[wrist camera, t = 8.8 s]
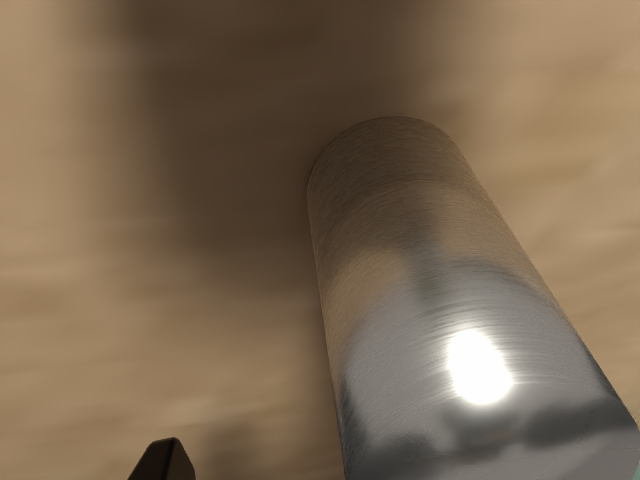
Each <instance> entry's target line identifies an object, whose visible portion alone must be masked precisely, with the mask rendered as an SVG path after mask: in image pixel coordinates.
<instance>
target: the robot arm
mask: <svg viewBox="0 0 640 480" xmlns="http://www.w3.org/2000/svg"><path fill="white" fill-rule="evenodd" d="M127 480H196V477H195V471H194V468H193V465H192V463H191V461H190V459H189V457H188V455H187V453H186V452H185V450H184V448H183V446H182V444H181V442H180V441H179V439H177V438H175V437H172V438H167V439H162V440H157V441H154V442H152V443H151V444H150V445H149V446H148V448H147V449H146V451H145V452H144V454H143V456H142V457H141V459H140V460H139V462H138V464H137V465H136V467H135V468H134V470H133V471H132V473H131V475H130V476H129V478H128V479H127Z"/></svg>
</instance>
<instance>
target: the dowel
mask: <svg viewBox="0 0 640 480" xmlns="http://www.w3.org/2000/svg"><path fill="white" fill-rule="evenodd" d="M306 201H307V208H308V215H309V222H310V229H311V236H312V243H313V251H314V258H315V265H316V272H317V279H318V286H319V293H320V300H321V308H322V315H323V322H324V329H325V336H326V343H327V350H328V357H329V365H330V372H331V379H332V386H333V393H334V400H335V407H336V414H337V421H338V429H339V436H340V443H341V450H342V457H343V464H344V471H345V478H346V480H631V479H632V478H633V476H634V474H635V472H636V470H637V467H638V464H639V461H640V432H639V429H638V427H637V424H636V422H635V421H634V419H633V418H632V416H631V415H630V413H629V412H628V410H627V408H626V407H625V405H624V404H623V402H622V401H621V399H620V398H619V396H618V395H617V393H616V391H615V390H614V388H613V387H612V385H611V384H610V382H609V381H608V379H607V378H606V376H605V374H604V373H603V371H602V370H601V368H600V367H599V365H598V364H597V362H596V361H595V359H594V357H593V356H592V354H591V353H590V351H589V350H588V348H587V347H586V345H585V344H584V342H583V340H582V339H581V337H580V336H579V334H578V333H577V331H576V330H575V328H574V327H573V325H572V324H571V322H570V320H569V319H568V317H567V316H566V314H565V313H564V311H563V310H562V308H561V307H560V305H559V303H558V302H557V300H556V299H555V297H554V296H553V294H552V293H551V291H550V290H549V288H548V286H547V285H546V283H545V282H544V280H543V279H542V277H541V276H540V274H539V273H538V271H537V269H536V268H535V266H534V265H533V263H532V262H531V260H530V259H529V257H528V256H527V254H526V252H525V251H524V249H523V248H522V246H521V245H520V243H519V242H518V240H517V239H516V237H515V235H514V234H513V232H512V231H511V229H510V228H509V226H508V225H507V223H506V222H505V220H504V219H503V217H502V215H501V214H500V212H499V211H498V209H497V208H496V206H495V205H494V203H493V202H492V200H491V198H490V197H489V195H488V194H487V192H486V191H485V189H484V188H483V186H482V185H481V183H480V181H479V180H478V178H477V177H476V175H475V174H474V172H473V171H472V169H471V168H470V166H469V164H468V163H467V161H466V160H465V158H464V157H463V155H462V154H461V152H460V151H459V149H458V148H457V146H456V145H455V143H454V142H453V141H452V140H451V139H450V138H449V137H448V136H447V135H446V134H445V133H444V132H442V131H441V130H440V129H438V128H437V127H435V126H433V125H431V124H429V123H426V122H424V121H421V120H417V119H413V118H408V117H384V118H377V119H373V120H370V121H366V122H363V123H361V124H359V125H356V126H354V127H352V128H350V129H349V130H347V131H345V132H343V133H342V134H341V135H339V136H338V137H337V138H335V139H334V140H333V141H332V142H331V143H330V144H329V145H328V146H327V147H326V148H325V149H324V151H323V152H322V153H321V154H320V156H319V157H318V159H317V160H316V162H315V164H314V166H313V168H312V170H311V173H310V176H309V179H308V184H307V191H306Z"/></svg>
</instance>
